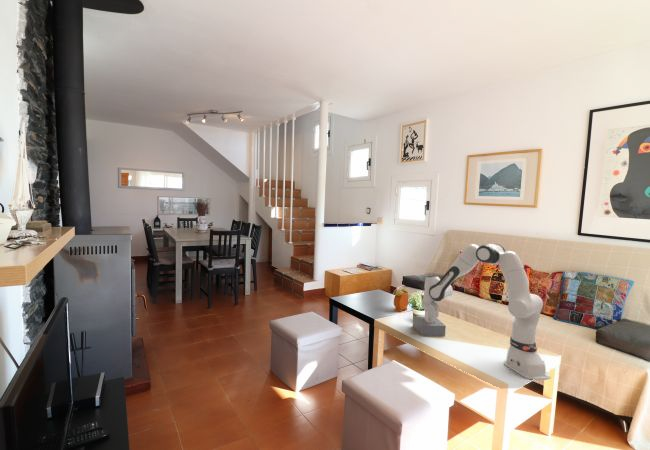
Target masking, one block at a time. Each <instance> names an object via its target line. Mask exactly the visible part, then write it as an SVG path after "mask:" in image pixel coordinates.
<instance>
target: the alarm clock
mask: <svg viewBox="0 0 650 450" xmlns="http://www.w3.org/2000/svg"><path fill="white" fill-rule="evenodd" d="M401 287H402V285H401V286H399V288H401ZM403 287H404V288H402V289H397V290H396V291H395V294H394V298H393V306H394V307H395V308H394V312H398V313H403V311H408V306H409V303H408V298H409V299H410V297H409V291H408V290H407V288H405V287H406V286H405V285H403Z"/></svg>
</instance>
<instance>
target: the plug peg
mask: <svg viewBox="0 0 650 450" xmlns="http://www.w3.org/2000/svg"><path fill="white" fill-rule="evenodd" d="M429 318H430V314H429V313H428V312H427V311H425V322H426V323H433V322H434V317H433V321H430V320H429Z"/></svg>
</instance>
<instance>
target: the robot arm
mask: <svg viewBox="0 0 650 450" xmlns="http://www.w3.org/2000/svg"><path fill="white" fill-rule="evenodd" d="M479 262H480V263H484V264H493V265H494V264H497V265H498V266H499V269H501V273H502V276H503V279H504V282H505V285H506V288H507V294H508V296H507V297H508V305H507V308H508V312H509V313H510V314H511V315H512V317H515V318H514V320H513V322H512V324H511V325H512V327H511V336H510V338H509V348H508V349H507V354H506V357H505V361H504V362H503V365H504V366H506V367H508V368H509V369H511V370H512V371H513V372H515V373H517V374H519V375H520V376H522V377H523V378H525V379H529V380H535V381H545V380H547V381H548V380H550V379H552V378H551V377H552V376H551V375H550V374H549V373H548V372H547V371H546V369H547V368H546V363H545V360H544V359H542V357H541V356H540V354H539V353H538V349H539V346H537V344H536V335H537V334H536V333H537V327H538V324H539V319H540V316H541V312H542V309H543V307H544V301H543V299H542V298H541V297H540V296H539V295H537V294H535V293H531V292H530V280H529V278H528V274H527V273H526V270H525V267H524V265H523V263H522V260H521V259H520V257H519V255H518V254H517V252H515V251H512V250H507V251H506V250H505V248H504V247H503V246H502V245H500V244H498V243H486V244H482V245H477V244H474V243H470V244H468V245H467V246H466V247H465V248H464V249H463V250H462V251H461V252H460V253H459V254H458V256H457V257H456V259H455V260H454V262H453V263H452V264H451V266H450V268H448V270H447V271H446V272H445V273H444V275H443V276H442V277H441V278H440V277H439V276H438V275H435V274H434V275H427V276H426V277H425V280H424V293H423V294H421V295H420V297H421V306H422V308H423V309H424V310H425V311H427V312H428V313H429V314H430V318H429V320H430V321H433V317H436V318H439V315H440V314H439V313H440V312H439V305H437V303H438V302H440V301H442V300H444V299H446V298H448V297H451V296H452V295H453V292H454V291H453V290H454V289H453V286H452V284H453V282H454V281H455V280H456V279H458V278H461V277H462V276H464V275H467V274H468V273H470V272H471V271H472V270H474V269H475V267H476V265H477V264H478V263H479Z"/></svg>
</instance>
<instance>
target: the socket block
mask: <svg viewBox="0 0 650 450" xmlns="http://www.w3.org/2000/svg"><path fill="white" fill-rule="evenodd" d="M412 320H413V321H412V327H413V329H414V330H415V331H416V332H417V333H418V334H419V335H420V336H421V337H446V330H447V329H446V325H445V324H444V323H443V322H442V321H441V320H440V319H438V317H434V322H433V323H426V322H425V317H417V316H413V319H412Z"/></svg>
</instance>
